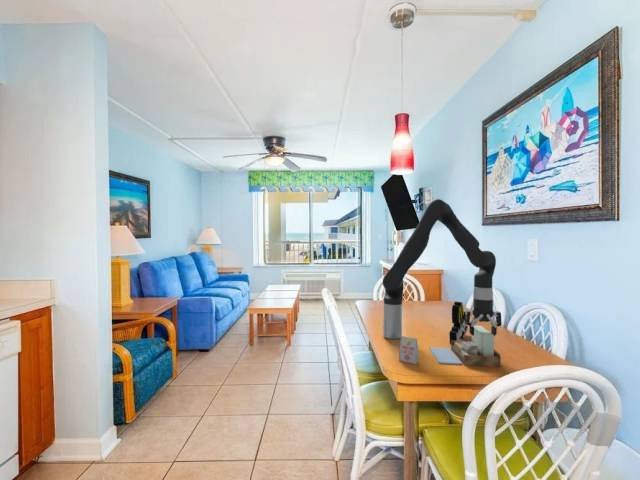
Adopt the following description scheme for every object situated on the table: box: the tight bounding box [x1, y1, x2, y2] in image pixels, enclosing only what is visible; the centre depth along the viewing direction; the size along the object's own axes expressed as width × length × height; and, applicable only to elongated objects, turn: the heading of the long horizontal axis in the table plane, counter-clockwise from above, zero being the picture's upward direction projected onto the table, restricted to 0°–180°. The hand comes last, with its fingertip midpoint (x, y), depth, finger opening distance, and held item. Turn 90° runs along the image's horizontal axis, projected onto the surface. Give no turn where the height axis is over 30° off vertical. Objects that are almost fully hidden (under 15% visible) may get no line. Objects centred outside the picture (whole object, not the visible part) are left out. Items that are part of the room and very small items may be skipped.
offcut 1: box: [454, 342, 462, 353], centre depth 145 cm, size 4×7×4 cm, turn 1°
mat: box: [428, 346, 463, 366], centre depth 142 cm, size 9×18×1 cm, turn 174°
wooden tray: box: [450, 339, 501, 368], centre depth 140 cm, size 14×19×5 cm
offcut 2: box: [462, 342, 478, 355], centre depth 136 cm, size 4×6×4 cm
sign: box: [448, 301, 469, 345], centre depth 164 cm, size 22×3×20 cm, turn 143°
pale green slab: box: [471, 325, 495, 356], centre depth 140 cm, size 4×14×12 cm, turn 174°
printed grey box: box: [398, 335, 419, 365], centre depth 136 cm, size 4×7×10 cm, turn 54°
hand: (482, 335), depth 140 cm, fingers open, 8 cm apart
